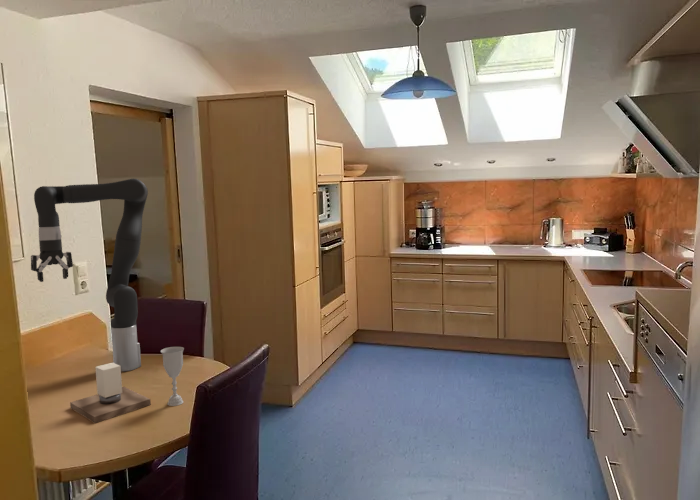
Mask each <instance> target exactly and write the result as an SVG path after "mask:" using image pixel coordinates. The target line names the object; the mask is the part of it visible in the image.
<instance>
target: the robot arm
mask: <svg viewBox="0 0 700 500" xmlns="http://www.w3.org/2000/svg"><path fill="white" fill-rule="evenodd" d="M148 191H149V190H148V187H147V185H146V184H145V183H144V182H143V181H142V180H141V179H137V178H128V179H125V180H119V181H114V182H113V181H112V182H107V183H91V184H90V183H89V184H88V183H87V184H85V183H83V184H69V185H65V186H64V185H62V186H60V185H58V186H56V185H55V186H53V185H52V186H51V185H50V186H48V185H47V186H46V185H43V186H39V187H38V188H36V190H34V193H33V199H34V204H35V210H36V213H37V220H38V243H39V254H37V255H35V254H31V255H30V270H31V271H32V272H33V271H34V272H36V273H37V274H36V277H37V280H38V281H39V282H40V283H43V282H44V272H43V271H44V269H45V268H46V267H47V266H52V265H56V266H57V265H59V266H60V267H61V268H62V279H64V280H66V279H68V278H69V268H72V267H73V266H74V262H73V258H72V257H73V256H72V252H71V251H66V252H63V246H62V245H63V244H62V232H61V227H60V217H59V212H57V210H56V205H60V204H84V203H85V204H86V203H92V202H93V203H94V202H97V201H104V200H105V201H106V200H122V201H123V213H122V217H121V219H120V222H119V225H118V228H117V231H116V234H115V241H114V251H113V256H112V257H113V258H112V262H111V263H112V265H111V273H110V277H109V280H108V285H107V288H106V292H105V300H106V302H107V305H109V306H110V307H112V308H113V309H114V311H113V312H114V317H113V318H112V319H111V320H110V331H111V347H112V358H113V359H112V361H113V362H112V363H115V364H117V365H120V366H121V372H130V371H133V370H136V369H138V368H140V367H142V360H141V347H140V346H141V345H140V344H141V343H140V342H138V332H137V331H138V330H137V319H138V315H139V314H138V313H139V311H138V295H137V292H136V290H135V289H134V288H133V287H131V286H129V280H130V274H131V271H132V269H133V266H134V264H135V263H136V261H137V259H138V257H139V255H140V254H139V253H140V250H141V240H142V229H143V214H144V211H145V207H146V202H147V198H148V194H149V193H148ZM63 258H65V259H66V262H64V261H63ZM39 259H40V260H41V262H40V263H39V265H38V263H37V262H38V261H39ZM37 266H38V267H37Z"/></svg>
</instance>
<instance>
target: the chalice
mask: <svg viewBox="0 0 700 500" xmlns="http://www.w3.org/2000/svg"><path fill="white" fill-rule="evenodd" d="M184 350H185V347H183V346H170V347H165V348H163V349H161V350H160V353H161V354H162V362H163V363H162V366H163V368H164V371H165V372H166V374H167V375H168V377H169V378H171V380H172V382H171V385H172V388H171V390H172V392H173V393H172V395H171V396H170V397H169V399H168V402H167V406H170V407H175V406H181V405H182V404H183V403H184V400H183V398H182V396H181V395H180V394H178V392H177V391H178V390H177V389H178V387H177V384H178V382H177V377H179V375H180V374H181V372H182V369H183V365H184V357H183V353H184Z"/></svg>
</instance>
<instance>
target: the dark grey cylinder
mask: <svg viewBox="0 0 700 500" xmlns="http://www.w3.org/2000/svg"><path fill="white" fill-rule="evenodd" d="M120 400H121V393H120V394H116V395H113V396H110V397H106V398H105V397H103V396H101V395H100V396H99V401H100V404H113V403H116V402H119V401H120Z"/></svg>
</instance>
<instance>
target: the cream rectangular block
mask: <svg viewBox="0 0 700 500" xmlns="http://www.w3.org/2000/svg"><path fill="white" fill-rule="evenodd" d="M94 368H95V378H96V392H97V393H96V395H97V394H99V395H101V396H103V397H105V398H106V397H110V396H113V395H116V394H120V393H122V387H123V383H122V381H123V380H122V371H121V366H120V365H117V364H115V363H113V362H110V363H105V364H101V365H97V366H95V367H94Z"/></svg>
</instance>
